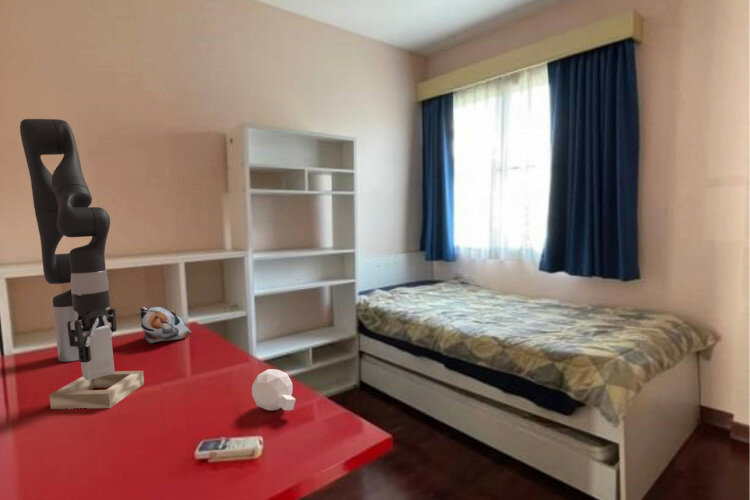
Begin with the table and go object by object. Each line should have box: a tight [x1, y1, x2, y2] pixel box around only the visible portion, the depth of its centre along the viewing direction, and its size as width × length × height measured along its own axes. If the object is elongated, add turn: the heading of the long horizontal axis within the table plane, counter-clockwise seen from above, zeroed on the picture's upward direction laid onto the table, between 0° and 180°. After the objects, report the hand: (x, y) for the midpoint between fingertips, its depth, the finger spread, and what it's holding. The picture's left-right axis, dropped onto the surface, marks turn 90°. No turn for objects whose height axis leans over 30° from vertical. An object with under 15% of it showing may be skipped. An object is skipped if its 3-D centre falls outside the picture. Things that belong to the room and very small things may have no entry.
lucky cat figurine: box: [140, 306, 192, 345], centre depth 151 cm, size 17×14×16 cm
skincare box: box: [80, 325, 115, 380], centre depth 105 cm, size 6×4×12 cm
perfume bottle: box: [251, 368, 297, 411], centre depth 95 cm, size 9×9×12 cm
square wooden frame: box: [49, 370, 145, 410], centre depth 106 cm, size 14×14×4 cm
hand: (96, 356), depth 105 cm, fingers closed on skincare box, 7 cm apart
